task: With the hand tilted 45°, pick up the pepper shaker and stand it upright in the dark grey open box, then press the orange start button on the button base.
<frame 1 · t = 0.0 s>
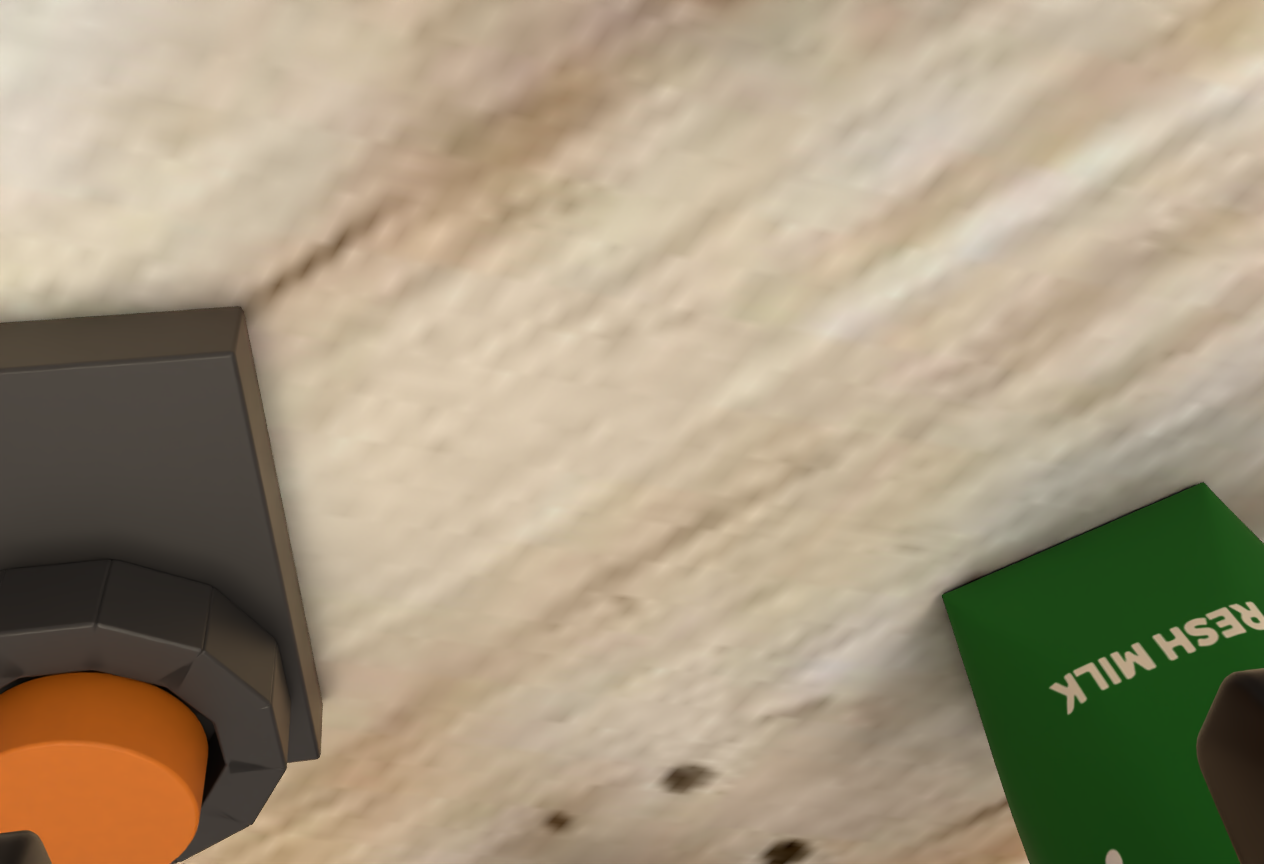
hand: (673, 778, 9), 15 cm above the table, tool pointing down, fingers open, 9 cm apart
milk carton: (1089, 619, 32), on the table
button base: (90, 548, 25), on the table
start button: (83, 783, 23), point 4 cm above the table, slide at 0.1 cm
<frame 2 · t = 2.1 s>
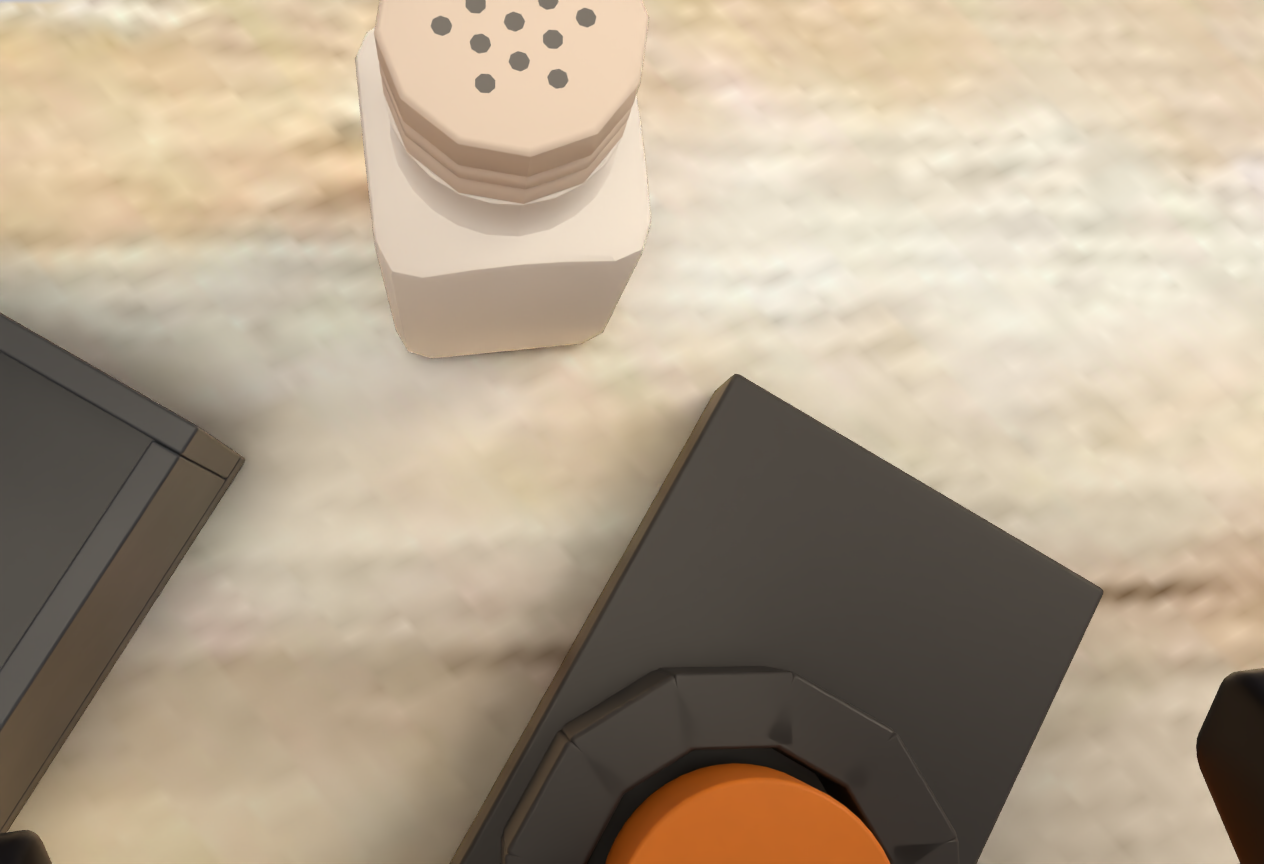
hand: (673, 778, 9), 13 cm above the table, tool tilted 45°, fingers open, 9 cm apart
pepper shaker: (494, 259, 23), on the table
button base: (760, 741, 23), on the table
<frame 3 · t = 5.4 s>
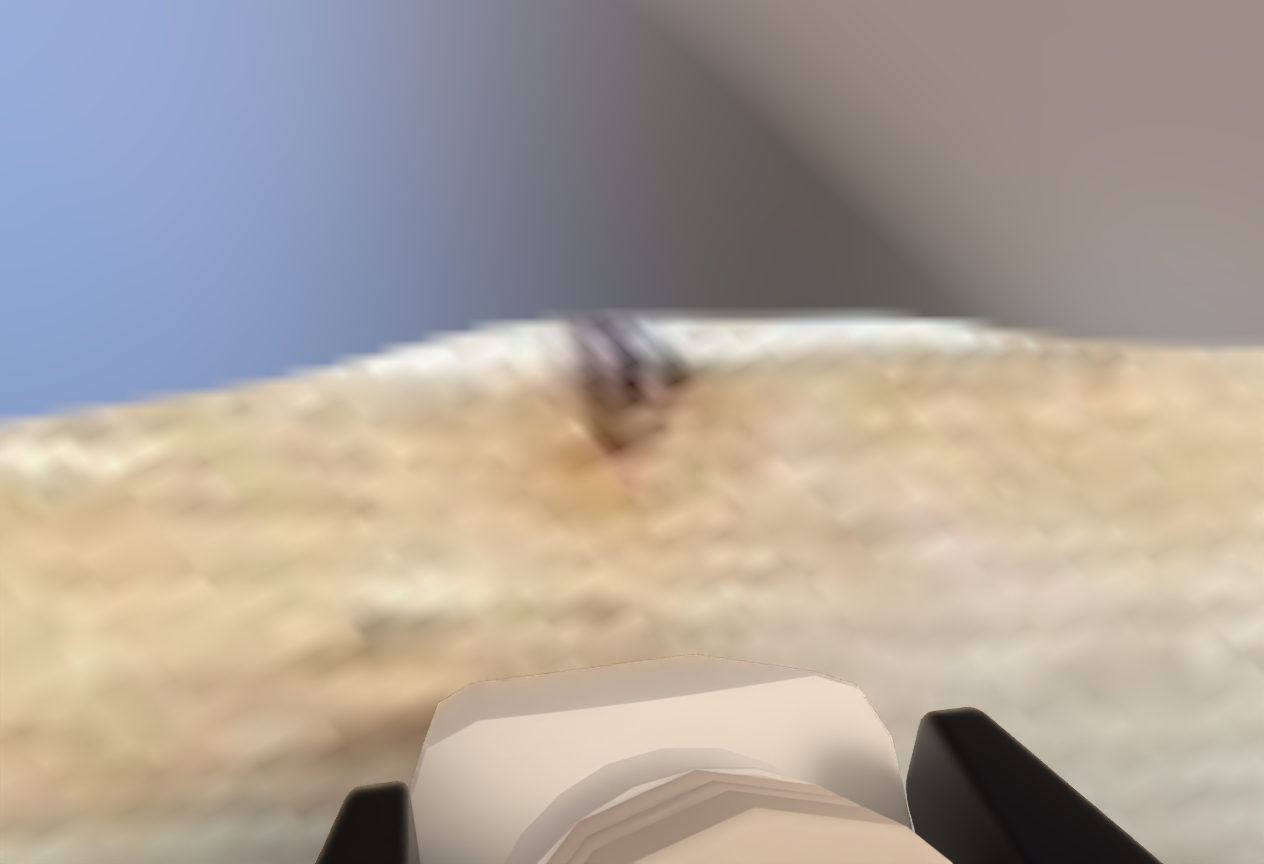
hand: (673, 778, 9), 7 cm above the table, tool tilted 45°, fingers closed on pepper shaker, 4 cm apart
pepper shaker: (596, 822, 15), on the table, touching gripper
when the fingers open (7 cm above the table, at t = 11.9 s): pepper shaker stays where it is, resting on dark grey open box.
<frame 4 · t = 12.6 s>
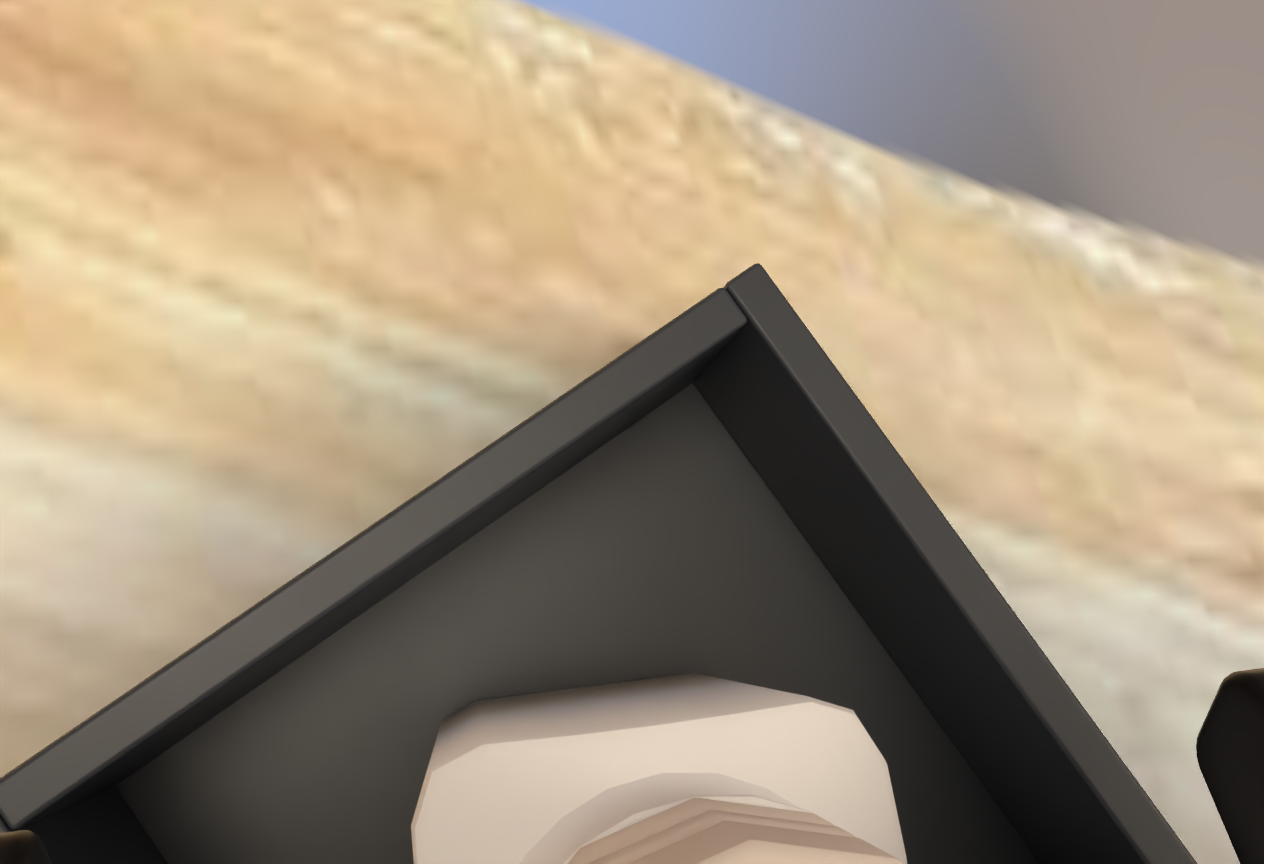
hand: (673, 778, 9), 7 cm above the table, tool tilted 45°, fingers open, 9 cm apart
pepper shaker: (596, 838, 16), resting on dark grey open box
dark grey open box: (593, 819, 16), on the table
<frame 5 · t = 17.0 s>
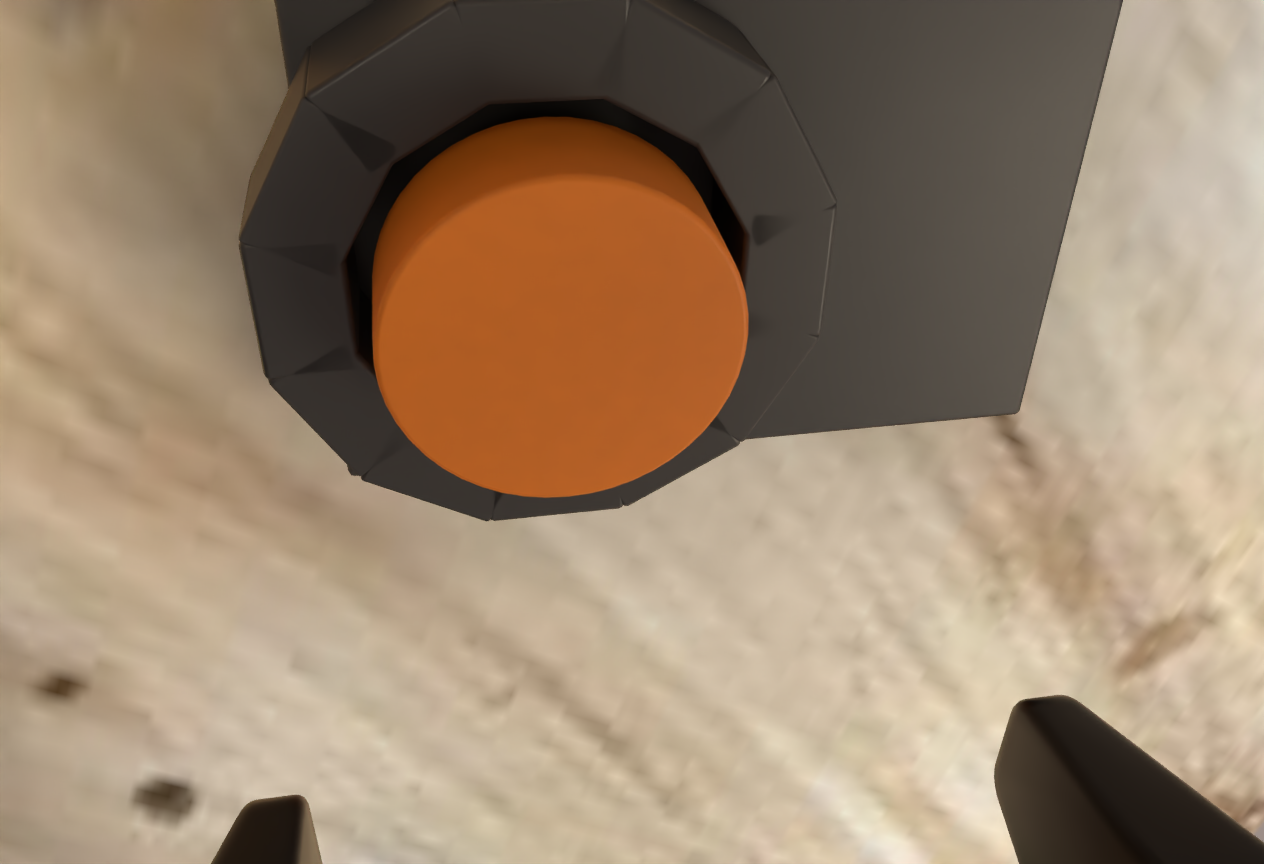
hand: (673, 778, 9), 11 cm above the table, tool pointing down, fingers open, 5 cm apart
button base: (687, 168, 18), on the table
start button: (556, 314, 15), point 4 cm above the table, slide at 0.1 cm
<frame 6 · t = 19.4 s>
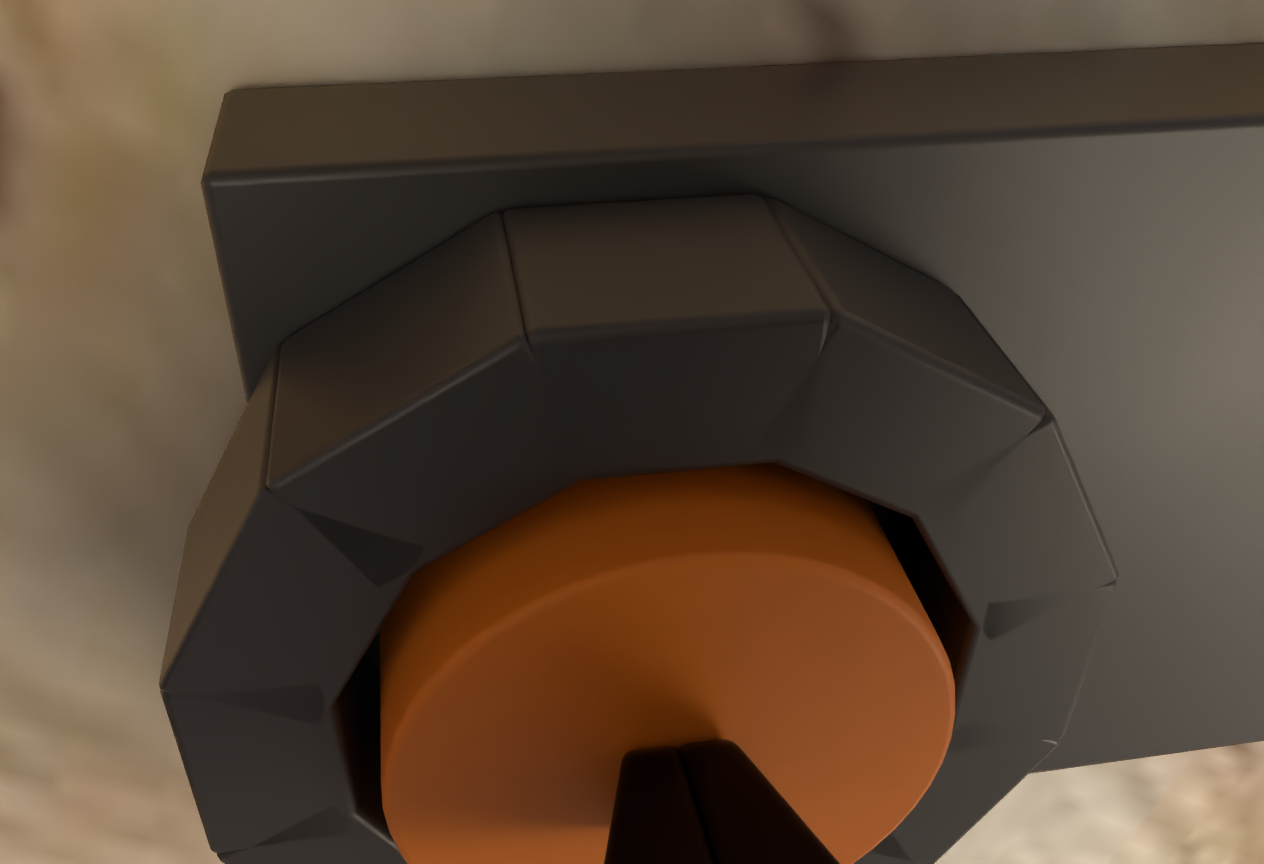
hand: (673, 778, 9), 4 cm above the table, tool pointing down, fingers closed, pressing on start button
button base: (833, 433, 13), on the table
start button: (657, 690, 10), point 3 cm above the table, slide at -0.7 cm, touching gripper
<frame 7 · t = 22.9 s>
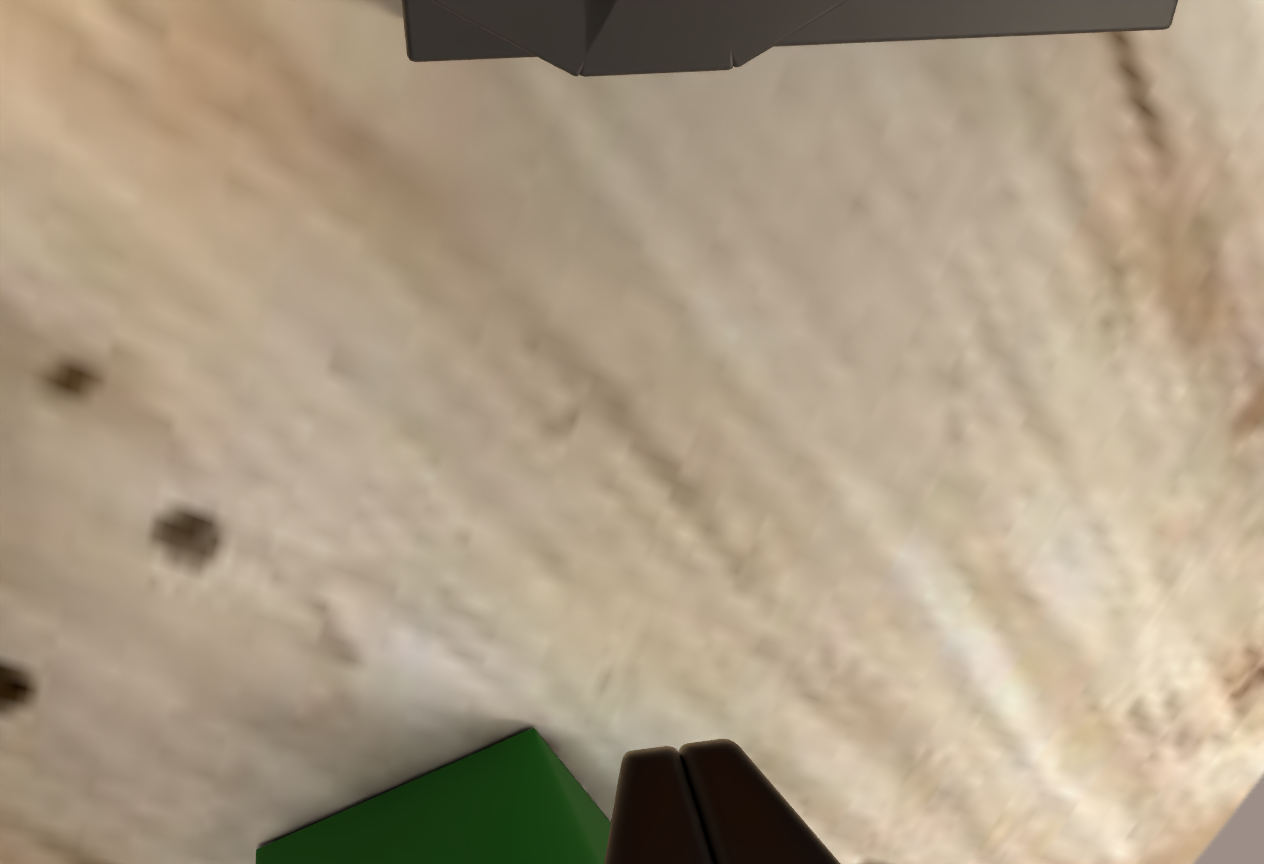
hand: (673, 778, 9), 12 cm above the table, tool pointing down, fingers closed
milk carton: (463, 854, 29), on the table
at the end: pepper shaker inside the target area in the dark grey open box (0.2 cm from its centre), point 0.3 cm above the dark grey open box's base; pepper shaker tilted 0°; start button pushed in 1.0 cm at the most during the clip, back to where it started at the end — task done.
